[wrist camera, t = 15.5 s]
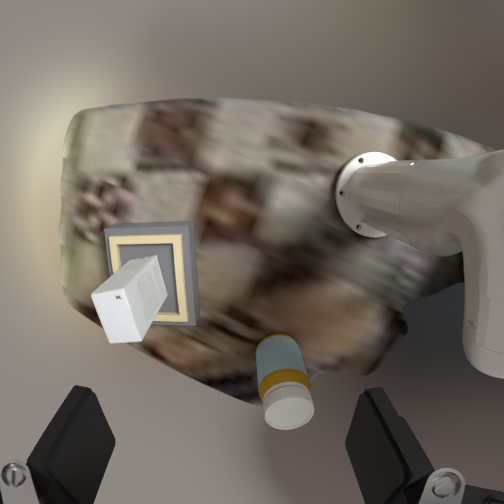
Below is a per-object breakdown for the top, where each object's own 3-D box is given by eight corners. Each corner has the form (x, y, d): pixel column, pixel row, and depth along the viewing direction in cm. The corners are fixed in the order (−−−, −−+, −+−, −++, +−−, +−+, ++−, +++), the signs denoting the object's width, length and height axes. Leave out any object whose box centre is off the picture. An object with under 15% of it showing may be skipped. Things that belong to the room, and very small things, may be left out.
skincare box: (129, 259, 37) (88, 292, 25) (157, 253, 37) (124, 286, 25) (141, 300, 39) (108, 345, 27) (168, 296, 39) (143, 342, 27)
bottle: (291, 326, 45) (311, 387, 30) (302, 358, 46) (322, 422, 32) (249, 339, 45) (253, 404, 31) (263, 371, 47) (270, 437, 32)
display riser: (193, 221, 40) (187, 227, 35) (199, 313, 44) (195, 328, 39) (115, 224, 40) (101, 230, 35) (127, 311, 43) (116, 324, 39)
